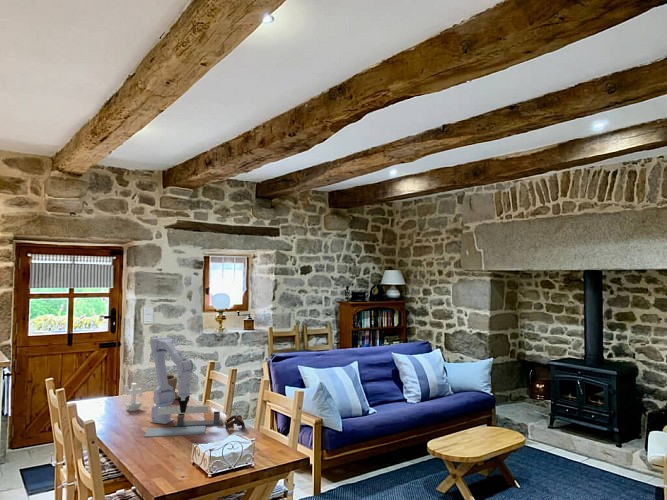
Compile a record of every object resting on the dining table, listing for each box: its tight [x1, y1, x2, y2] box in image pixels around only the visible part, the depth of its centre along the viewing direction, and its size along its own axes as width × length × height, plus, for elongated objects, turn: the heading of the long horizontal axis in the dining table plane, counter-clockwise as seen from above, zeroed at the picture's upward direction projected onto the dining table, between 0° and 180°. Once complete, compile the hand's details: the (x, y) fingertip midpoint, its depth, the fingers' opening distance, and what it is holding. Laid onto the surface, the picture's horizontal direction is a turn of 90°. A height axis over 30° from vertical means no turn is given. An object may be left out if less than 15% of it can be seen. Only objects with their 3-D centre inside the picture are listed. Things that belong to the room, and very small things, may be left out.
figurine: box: [124, 382, 143, 412], centre depth 283 cm, size 7×9×15 cm
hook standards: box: [173, 411, 223, 427], centre depth 258 cm, size 24×7×6 cm, turn 103°
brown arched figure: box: [224, 414, 246, 432], centre depth 252 cm, size 12×10×8 cm
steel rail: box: [158, 404, 209, 415], centre depth 250 cm, size 24×3×3 cm, turn 104°
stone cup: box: [161, 374, 178, 400], centre depth 306 cm, size 15×12×15 cm
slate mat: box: [143, 426, 207, 438], centre depth 246 cm, size 28×12×1 cm, turn 103°
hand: (183, 411), depth 250 cm, fingers closed on steel rail, 3 cm apart
